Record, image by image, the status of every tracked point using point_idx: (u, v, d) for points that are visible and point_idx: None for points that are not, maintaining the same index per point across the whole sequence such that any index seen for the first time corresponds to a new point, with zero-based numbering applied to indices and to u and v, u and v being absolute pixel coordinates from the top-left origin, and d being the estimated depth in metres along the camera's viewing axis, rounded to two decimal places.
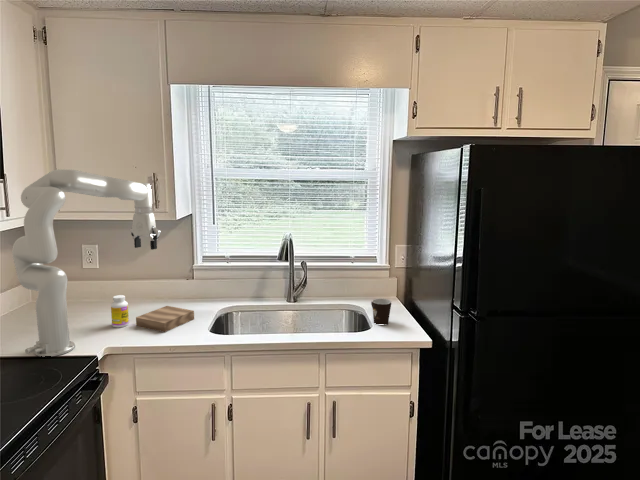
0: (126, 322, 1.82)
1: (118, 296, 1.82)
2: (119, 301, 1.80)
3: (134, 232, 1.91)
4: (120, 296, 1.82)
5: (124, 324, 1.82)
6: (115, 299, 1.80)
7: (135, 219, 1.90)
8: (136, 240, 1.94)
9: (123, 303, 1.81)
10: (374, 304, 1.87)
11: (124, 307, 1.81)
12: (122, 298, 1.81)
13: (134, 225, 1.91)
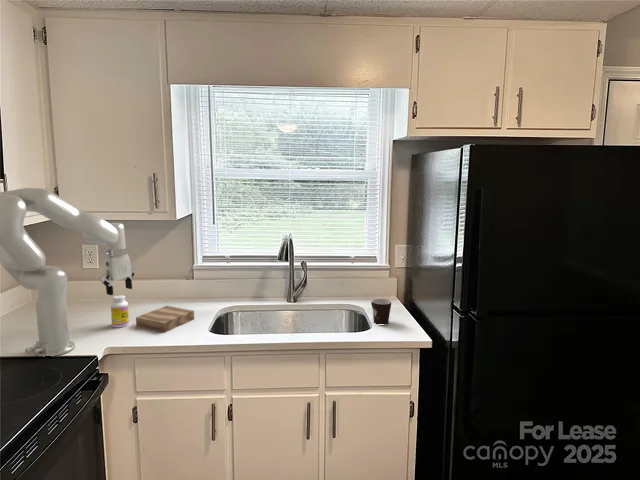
0: (126, 322, 1.82)
1: (118, 296, 1.82)
2: (119, 301, 1.80)
3: (116, 277, 1.76)
4: (120, 296, 1.82)
5: (124, 324, 1.82)
6: (115, 299, 1.80)
7: (116, 263, 1.76)
8: None
9: (123, 303, 1.81)
10: (374, 304, 1.87)
11: (124, 307, 1.81)
12: (122, 298, 1.81)
13: (115, 270, 1.76)
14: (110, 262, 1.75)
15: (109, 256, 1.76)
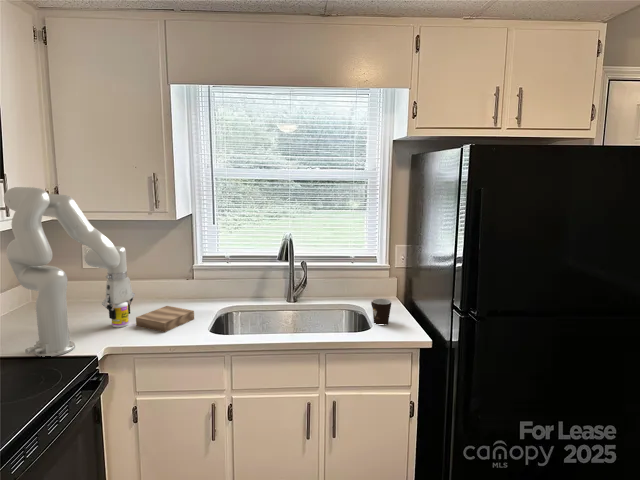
0: (126, 322, 1.82)
1: None
2: None
3: (116, 300, 1.78)
4: None
5: (124, 324, 1.82)
6: None
7: (117, 286, 1.78)
8: None
9: (123, 303, 1.81)
10: (374, 304, 1.87)
11: (124, 307, 1.81)
12: None
13: (116, 294, 1.77)
14: (111, 285, 1.76)
15: (110, 279, 1.77)
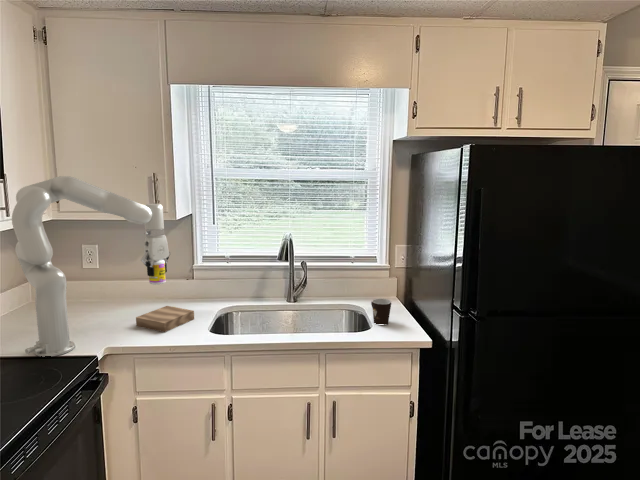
0: (163, 280, 1.83)
1: None
2: None
3: (155, 257, 1.78)
4: None
5: (162, 281, 1.82)
6: None
7: (156, 243, 1.78)
8: None
9: (160, 260, 1.82)
10: (374, 304, 1.87)
11: (162, 264, 1.81)
12: None
13: (154, 250, 1.78)
14: (150, 242, 1.76)
15: (148, 236, 1.77)
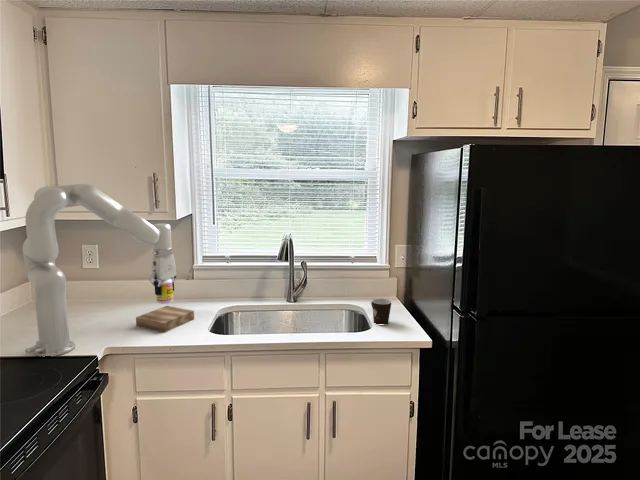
0: (171, 299, 1.85)
1: None
2: None
3: (162, 277, 1.80)
4: None
5: (169, 300, 1.84)
6: None
7: (163, 263, 1.80)
8: None
9: (168, 279, 1.83)
10: (374, 304, 1.87)
11: (169, 283, 1.83)
12: None
13: (162, 270, 1.80)
14: (157, 262, 1.78)
15: (156, 256, 1.79)
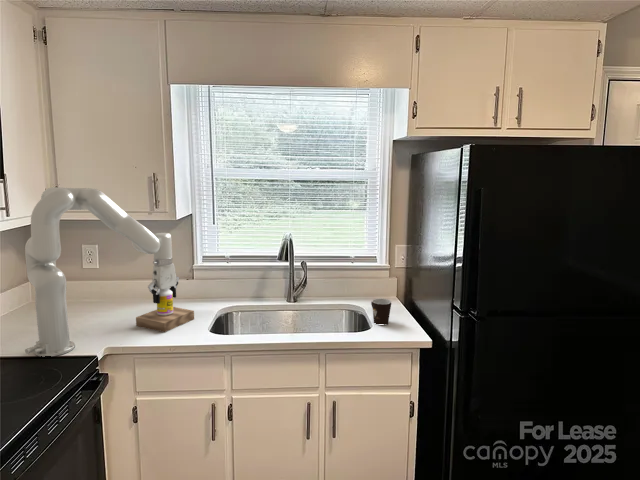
0: (171, 311, 1.86)
1: None
2: (164, 290, 1.84)
3: (163, 286, 1.81)
4: None
5: (169, 312, 1.85)
6: None
7: (164, 272, 1.81)
8: None
9: (168, 292, 1.84)
10: (374, 304, 1.87)
11: (169, 295, 1.84)
12: None
13: (162, 279, 1.80)
14: (158, 271, 1.79)
15: (157, 265, 1.80)
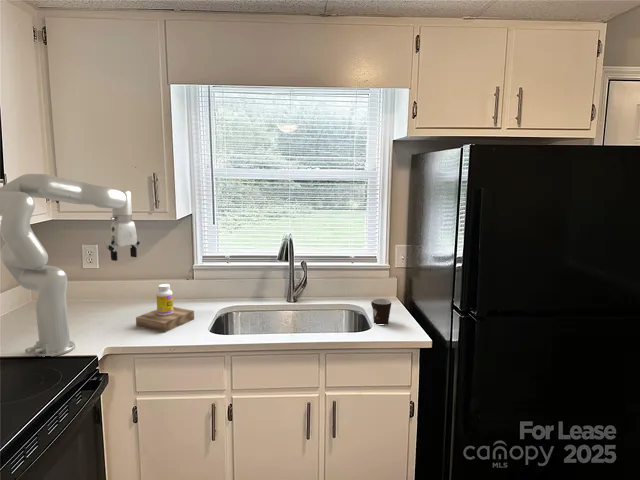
0: (171, 311, 1.86)
1: (163, 285, 1.85)
2: (164, 290, 1.83)
3: (121, 243, 1.78)
4: (165, 285, 1.85)
5: (169, 312, 1.85)
6: (161, 288, 1.83)
7: (122, 229, 1.78)
8: None
9: (168, 292, 1.84)
10: (374, 304, 1.87)
11: (169, 296, 1.84)
12: (167, 287, 1.84)
13: (120, 236, 1.78)
14: (115, 227, 1.77)
15: (115, 222, 1.78)
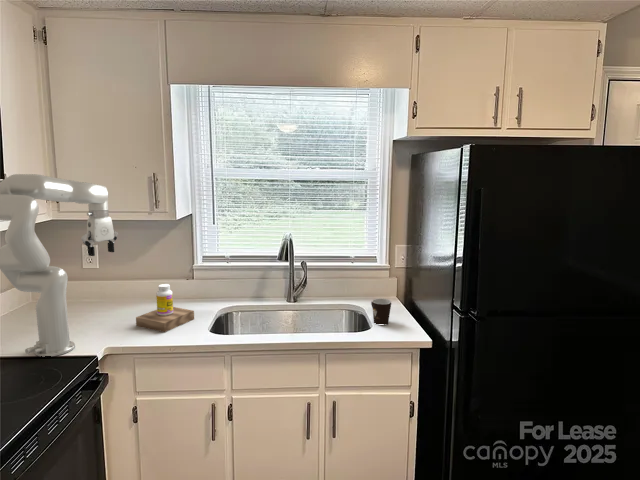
0: (171, 311, 1.86)
1: (163, 285, 1.85)
2: (164, 290, 1.83)
3: (97, 238, 1.79)
4: (165, 285, 1.85)
5: (169, 312, 1.85)
6: (161, 288, 1.83)
7: (98, 224, 1.79)
8: None
9: (168, 292, 1.84)
10: (374, 304, 1.87)
11: (169, 296, 1.84)
12: (167, 287, 1.84)
13: (97, 231, 1.78)
14: (92, 223, 1.77)
15: (91, 217, 1.78)
